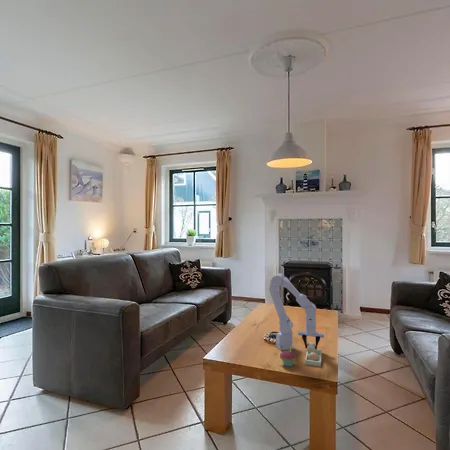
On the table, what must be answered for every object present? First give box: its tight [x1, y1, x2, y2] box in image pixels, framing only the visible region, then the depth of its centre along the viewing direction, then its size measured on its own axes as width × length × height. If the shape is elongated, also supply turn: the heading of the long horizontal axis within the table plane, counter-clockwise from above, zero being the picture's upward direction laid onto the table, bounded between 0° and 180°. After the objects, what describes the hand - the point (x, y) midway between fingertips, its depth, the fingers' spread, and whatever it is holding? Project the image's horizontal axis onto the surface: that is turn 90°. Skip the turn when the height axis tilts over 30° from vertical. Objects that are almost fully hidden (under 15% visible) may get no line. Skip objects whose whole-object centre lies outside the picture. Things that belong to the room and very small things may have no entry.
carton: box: [304, 349, 323, 367], centre depth 169 cm, size 16×8×2 cm, turn 161°
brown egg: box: [308, 352, 318, 361], centre depth 165 cm, size 5×5×5 cm
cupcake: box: [279, 343, 297, 367], centre depth 163 cm, size 9×8×12 cm
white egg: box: [306, 341, 316, 350], centre depth 181 cm, size 5×5×5 cm
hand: (311, 348), depth 181 cm, fingers closed on white egg, 5 cm apart
